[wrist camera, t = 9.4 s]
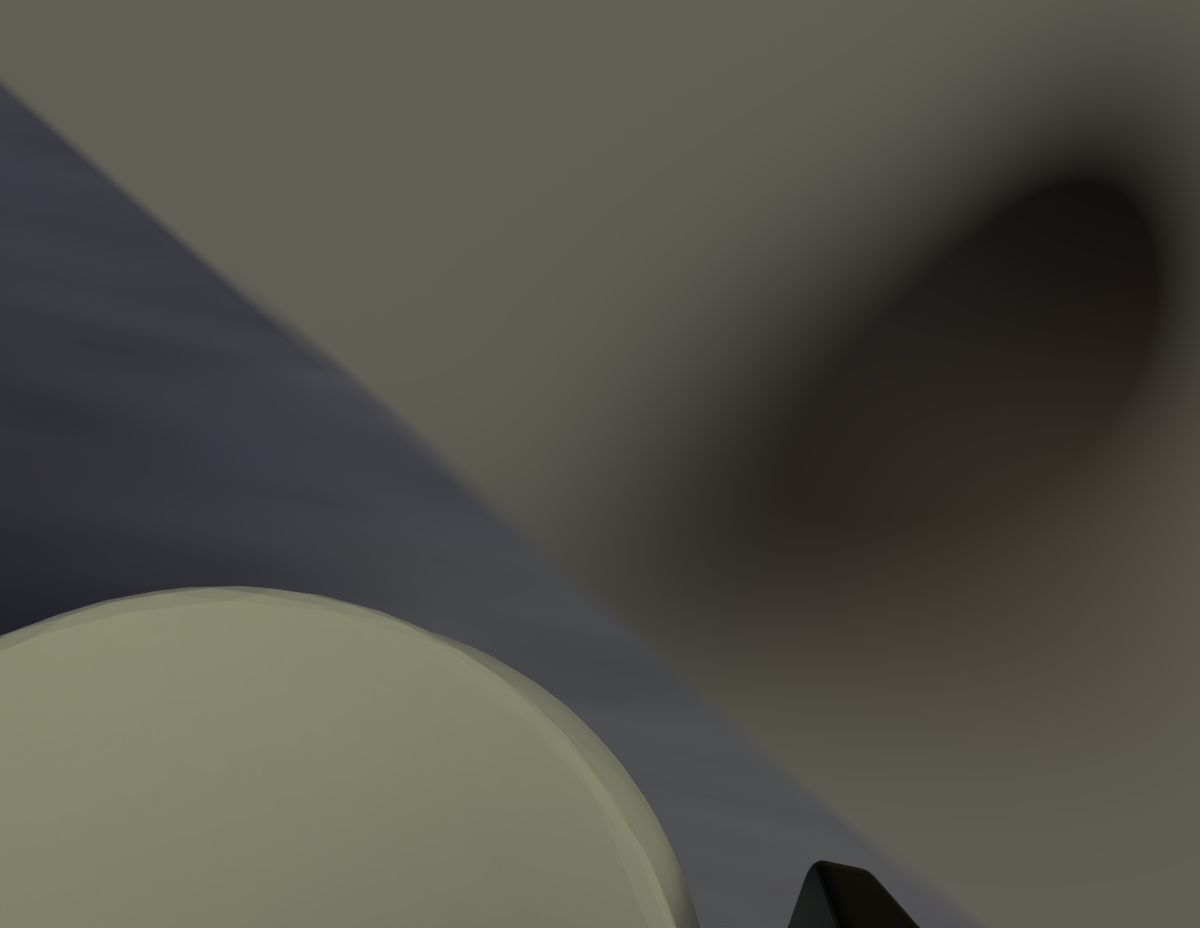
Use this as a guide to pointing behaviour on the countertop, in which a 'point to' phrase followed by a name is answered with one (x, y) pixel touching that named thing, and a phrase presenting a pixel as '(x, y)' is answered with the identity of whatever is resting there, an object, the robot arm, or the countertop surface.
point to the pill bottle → (305, 778)
